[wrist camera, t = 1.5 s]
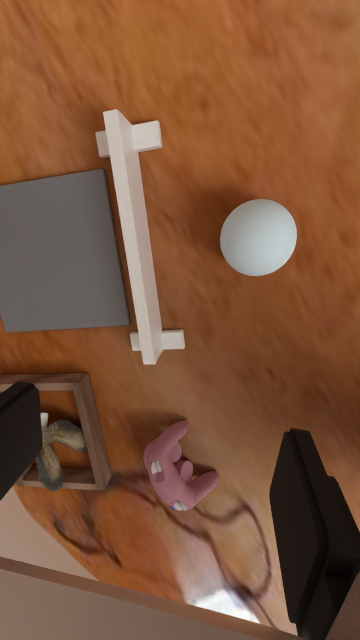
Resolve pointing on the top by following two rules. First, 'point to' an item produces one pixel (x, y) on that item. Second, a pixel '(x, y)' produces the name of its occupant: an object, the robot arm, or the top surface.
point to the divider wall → (137, 228)
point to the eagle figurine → (47, 457)
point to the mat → (60, 255)
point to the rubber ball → (258, 237)
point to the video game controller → (175, 470)
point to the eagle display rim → (89, 422)
